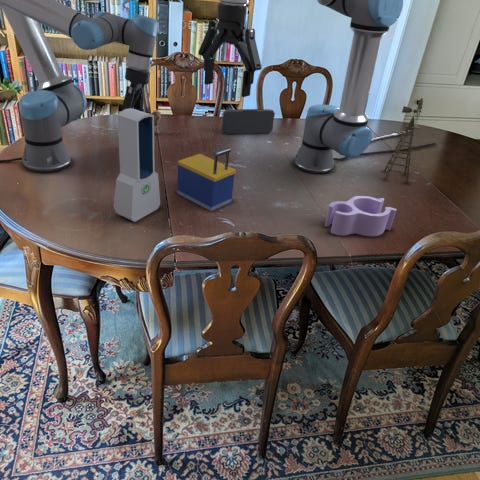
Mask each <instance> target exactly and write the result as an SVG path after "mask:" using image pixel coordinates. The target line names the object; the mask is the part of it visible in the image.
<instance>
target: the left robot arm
mask: <svg viewBox="0 0 480 480" xmlns="http://www.w3.org/2000/svg"><path fill="white" fill-rule="evenodd" d="M0 8H1V10H2V12H3V14H4V15H5V18H6V19H7V21H8V24H9V25H10V28H11V30H12V32H13V33H14V36H15V38H16V40H17V42H18V44H19V47H20V48H21V50H22V52H23V54H24V56H25V59H26V60H27V62H28V64H29V66H30V68H31V70H32V72H33V74H34V76H35V78H36V80H37V82H38V87H37V89H36V90H34V91H28V92H26V93H25V94H23V95H21V96H20V98H19V100H18V101H19V102H18V105H19V110H18V111H19V115H20V119H21V125H22V132H23V136H24V148H23V153H22V157H16V158H10V159H0V163H9V162H14V161H20V160H21V161H22V166H23V168H24V169H25V170H27V171H29V172H33V173H39V174H46V173H56V172H61V171H63V170H66V169H67V168H69V167H70V166H71V163H72V159H71V155H70V153H69V151H68V150H67V149H68V148H67V147H66V145H65V143H64V140H63V132H62V128H64V127H65V126H67V125H69V124H70V123H72V122H75V121H78V119H80V118H81V117H82V116H83V115H84V114H85V112H86V110H87V106H88V100H87V97H86V95H85V92H84V90H83V89H82V88H80V87H78V85H76V84H74V83H73V81H72V78H71V77H69V76H67V75H66V74H64V73H63V71H62V68H61V67H60V65H59V62H58V60H57V57H56V55H55V54H54V52H53V49H52V47H51V45H50V43H49V41H48V38H47V37H46V34H45V32H44V30H43V28H42V26H41V25H43V26H46V27H48V28H49V29H51V30H54V31H56V32H57V33H60V34H62V35H64V36H66V37H68V38H70V39H72V42H73V43H74V44H75V45H76V46H77V47H78V48H79V49H80V50H81V49H82V50H84V51H89V50H96V49H98V48H100V47H104V46H106V45H109V44H112V43H118V44H122V45H125V46H128V52H127V59H126V66H127V67H126V68H125V73H124V74H125V75H124V79H125V80H126V81H128V82H129V83H130V84H129V85H127V86H126V90H125V95H124V98H123V102H122V107H121V110H120V112H121V111H123V110H125V109H129V108H132V109H136V110H139V111H142V112H145V109H144V98H145V85H148V84H149V83H150V76H151V73H150V71H151V70H152V65H154V61H153V57H154V51H155V45H156V39H157V32H158V21H157V19H155V18H153V17H150V16H146V15H143V14H139V13H135V14H133V15H132V17H131V19H130V18H126V17H123V16H120V15H117V14H114V13H110V12H108V11H106V12H105V11H101V10H99V11H96V12H95V13H94V14H93V16H92V17H91V16H88V15H86V14H84V13H82V12H80V11H78V10H76V9H75V8H72V7H70V6H67V5H66V4H64V3H62V2H60V1H58V0H0Z"/></svg>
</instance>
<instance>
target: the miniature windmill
mask: <svg viewBox="0 0 480 480" xmlns="http://www.w3.org/2000/svg"><path fill="white" fill-rule="evenodd" d="M423 102H424V98H423V97H422V98H420V99H419V101H418V103H417V107H416V109H412V108H411V107H408V106H405V105H403V108H402V111H401V113H402V114H411V113H413V116H412V117H411V119H410V120H409V123H408V122H404V127H405V129H404V130H403V132H404V134H401V137H400V139H399V140H398V141H397V144H396V146H395V151H394V152H392V155H391V156H390V158H389V160H388V162H387V163H386V166H385V168H384V170H383V172H384V173H386V172H387V171H388V172H387V173H386V176H385V178H384V180H386V181H387V180H388V178H389V176H390V173H391V172H393V173H398V174H403V175H404V176H406V179H405V184H408V183H409V175H410V174H411V173H410V163H411V160H412V156H411V155H412V149H411V148H412V147H413V139H414V138H413V137H414V129H415V130H419V129H420V125H419V124H417V123H419V118H420V116H421V114H420V113H422V109H423V105H424V103H423ZM408 132H409V133H408ZM407 136H409V140H408V141H405V140H406V137H407ZM404 143H405V144H404ZM406 144H408V145H406ZM402 147H403V148H408V150H407V152H404V151H400V149H402ZM397 149H398V151H397ZM399 154H402V155H403V154H404V155H406V157H401V156H398V155H399ZM397 159H401V160H405V164H401V163H395V162H396V160H397ZM392 160H393V161H392ZM394 166H399V167H400V166H401V167H404V171H398V170H394V169H393V167H394ZM392 169H393V170H392Z"/></svg>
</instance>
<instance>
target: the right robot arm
mask: <svg viewBox="0 0 480 480" xmlns="http://www.w3.org/2000/svg"><path fill="white" fill-rule="evenodd" d="M316 1H317V3H318V4H319V5H321V6H324V7H327V8H329V9H330V10H333V11H335V12H337V13H339V14H340V15H342V16H345V17H348V18H351V19H350V23H349V24H350V25H349V28H350V29H351V31H352V40H351V46H350V51H349V57H348V62H347V67H346V72H345V77H344V81H343V88H342V94H341V99H340V103H339V106H336V105H332V104H313V105H311V106H309V107H308V109H307V113H306V116H305V121H304V127H303V134H302V141H301V145H300V147H299V148H298V150H297V152H296V154H295V156H294V159H293V165H294V166H295V167H296V168H297V169H298V170H300V171H303V172H306V173H310V174H317V175H323V174H329V173H331V172H332V171H333V170H334V166H335V161H339V162H341V161H345V160H347V159H354V158H357V157H362V156H370V155H377V154H387V153H393V152H394V151H395V149H396V148H395V149H388V150H387V149H386V150H377V151H369V152H366V150H367V149H368V147H369V146H370V145H371V143H372V142H371V139H373V132H372V130H371V129H370V128H369V127H368V123H369V116H368V115H367V113H366V112H367V106H368V102H369V97H370V94H371V93H370V92H371V88H372V84H373V79H374V75H375V69H376V65H377V61H378V56H379V52H380V48H381V43H382V39H383V36H385V35H387V33H388V32H389V30H390V27H391V26H392V25H394V24H395V23H396V22H398V19H399V18H400V16H401V14H402V12H403V7H404V0H316ZM218 2H219V3H218V4H217V15H216V17H217V19H213V20H212V19H211V20H208V24H207V25H208V26H207V30H206V32H205V35H204V37H203V40H202V42H201V45H200V47H199V49H198V51H197V53H198V55H199V56H201V57H202V58H203V71H204V81H203V83H204V85H205V86H207V85H211V84H214V73H215V72H214V71H215V70H214V69H215V58H214V56H215V55H216V53H217V52H218V51H219V49H220V48H221V47H222V46H223V44H229V45H231V46H234V48H235V49H236V50H237V52H238V55H239V56H240V59H241V61H242V63H243V66H244V68H245V70H243V72H242V73H243V75H242V83H241V85H242V86H241V94H240V95H241V98H247V97H250V96H251V89H252V85H253V84H254V82H255V81H254V80H255V73H256V71H261V70H262V69H263V68H262V62H261V58H260V55H259V50H258V46H257V42H256V30H255V28H246V23H247V21H248V11H249V8H248V6H247V4H248V3H249V0H218ZM217 32H218V33H217ZM434 142H435V143H432V142H431V143H432V144H428V143H424V144H420V145H415V146H412V148H411V150H414V149H420V148H424V147H428V146H432V145H436V143H437V142H436V141H434ZM398 149H399V148H397V151H398ZM404 151H408V147H403V148H402V147H401V149H400V151H399V152H404ZM334 152H336V153H338V154H339V155H340V156H343V157H340V158H338V157H334Z"/></svg>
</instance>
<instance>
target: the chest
mask: <svg viewBox="0 0 480 480" xmlns="http://www.w3.org/2000/svg"><path fill="white" fill-rule="evenodd" d="M234 179H235V174H233V175H230V176H228V177H225V178H223V179H221V180H218V181H216V182H214V181H212V180H210V179H208V178H205V177H203V176H201V175H199V174H197V173H195V172H193V171H191V170H189V169H187V168H185V167H182V166H180V165H178V164H177V186H176V189H177V190H176V194H177V195H180V196H182V197H183V198H185V199H187V200H188V201H191V202H193V203H195V204H197V205H198V206H200V207H202V208H204V209H206V210H208V211H210V212H213V211H215V210H217V209H219V208H221V207H224V206H225V205H228V204H230V203H232V201H233V192H234V191H233V190H234Z"/></svg>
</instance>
